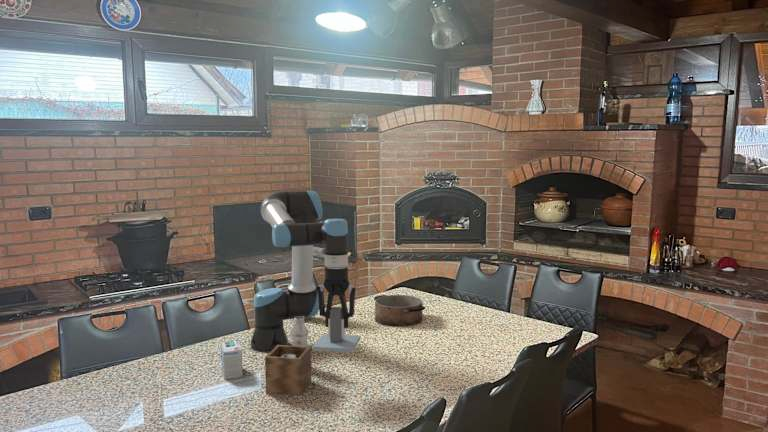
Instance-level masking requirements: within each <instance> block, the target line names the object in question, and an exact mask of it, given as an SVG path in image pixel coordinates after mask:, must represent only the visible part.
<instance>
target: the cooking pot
mask: <svg viewBox="0 0 768 432" xmlns="http://www.w3.org/2000/svg"><path fill="white" fill-rule="evenodd" d="M373 298H374V319H375V320H374V321H375V322H376V323H377V324H379V325H382V326H384V327H395V328H396V327H397V328H399V327H400V328H402V327H403V328H404V327H411V326H416V325H418V324H420V323H421V322H423V311H424V310H426V307H425V306H424V305H423V304H424V303H423V299H422V298H419V297H418V296H417V297H416V296H413V295H407V294H391V295H386V294H381V295H375V296H374V297H373Z"/></svg>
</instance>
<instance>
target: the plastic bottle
mask: <svg viewBox="0 0 768 432" xmlns="http://www.w3.org/2000/svg"><path fill="white" fill-rule="evenodd" d="M308 336H309V330H308V327H307V325H306V324H305V321H304V317H303V316H296V317H294V320H293V326H292V327H291V329H290V337H291V344H292V345H291V346H306V347H308Z"/></svg>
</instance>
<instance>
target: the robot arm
mask: <svg viewBox="0 0 768 432" xmlns="http://www.w3.org/2000/svg"><path fill="white" fill-rule="evenodd" d="M259 212H260V215H261V217H262V219H263V220H264V221H265V222H267V223H268V224H270V226H271V228H272V229H271V239H272V244H273V246H274V247H276V248H287V247H291V282H290V284H288V286H287V291H284V290H283V289H282V288H280V287H270V288H265V289H261V290H260V291H258V292H257V293H255V294H254V296H253V308H254V309H253V310H254V311H253V313H254V315H253V316H254V317H253V318H254V319H253V320H254V330H253V333H252V336H251V338H250V349H252V350H253V351H257V352H265V353H267V352H268V353H270V352H271V351H272V350H273V349H274V348H275V347H276V346H277V345H288V344H289V340H288V336H287V333H286V330H285V328H284V321H286V320H293V319H294V317H296V316H303V317H304V318H308V317H311V318H312V317H315V316H317V314H319V316H320V317H324V321H325V322H324V323H325V328H328V329H327V330H328V331H327V332H328V333H327V334H328V335H329V338H330V309H331V308H332V307H333V302H334V298H335V296H338V297H339V301H340V302H339V303H340V307H342V312H343V318H342V319H341V337H342V339H344V338H345V336H346V335H347V334H346V331H347V330H346V329H348V328H349V318H352V317H353V316H354V315H355V302H356V292H357V289H358V287H357V286H356V285H354V286H353V285H352V284H350V281H349V268H348V265H349V254H348V253H349V251H348V250H349V247H348V246H349V245H348V244H349V243H348V242H349V239H348V238H349V237H348V235H349V228H348V226H349V225H348V221H347V220H346V219H345V218H327V219H325V220H322V221H320V220H321V219H323V205H322V200H321V197H320V195H319V193H318V192H317V191H314V190H288V191H287V190H286V191H276V192H273V193H271V194H270V195H268V196H266V197H265V198H264V199H263V200H262V201H261V203H260V209H259ZM318 220H319V222H318ZM319 245H324V246H323V247H324V266H325V268H324V282H323V284H318V285H317V286H316V284H314V282H313V274H314V271H313V269H314V246H319ZM325 290H326V291H327V293H328V294H327V301H326V305H325V292H324V291H325ZM347 290H348V292H349V306H348V304H347V299H346V291H347ZM325 306H326V307H325ZM318 312H319V313H318ZM288 346H289V345H288Z"/></svg>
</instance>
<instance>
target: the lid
mask: <svg viewBox="0 0 768 432" xmlns="http://www.w3.org/2000/svg"><path fill="white" fill-rule="evenodd" d="M342 318H343V312H342V307H341V306H332V308H331V309H330V338H329V335H328V333H322V334H321V336H320V337H319V338H318V339H317V340H316V342H315V343H314V344H313V345H312V346H311V351H318V352H332V353H333V352H336V353H337V352H339V353H353V352H354V351H355V349H356V347H357V346H358V344H359V343H360V341H361V338H362V337H361V335H351V334H346V336H345V338H344V339H342V337H341V319H342Z"/></svg>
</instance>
